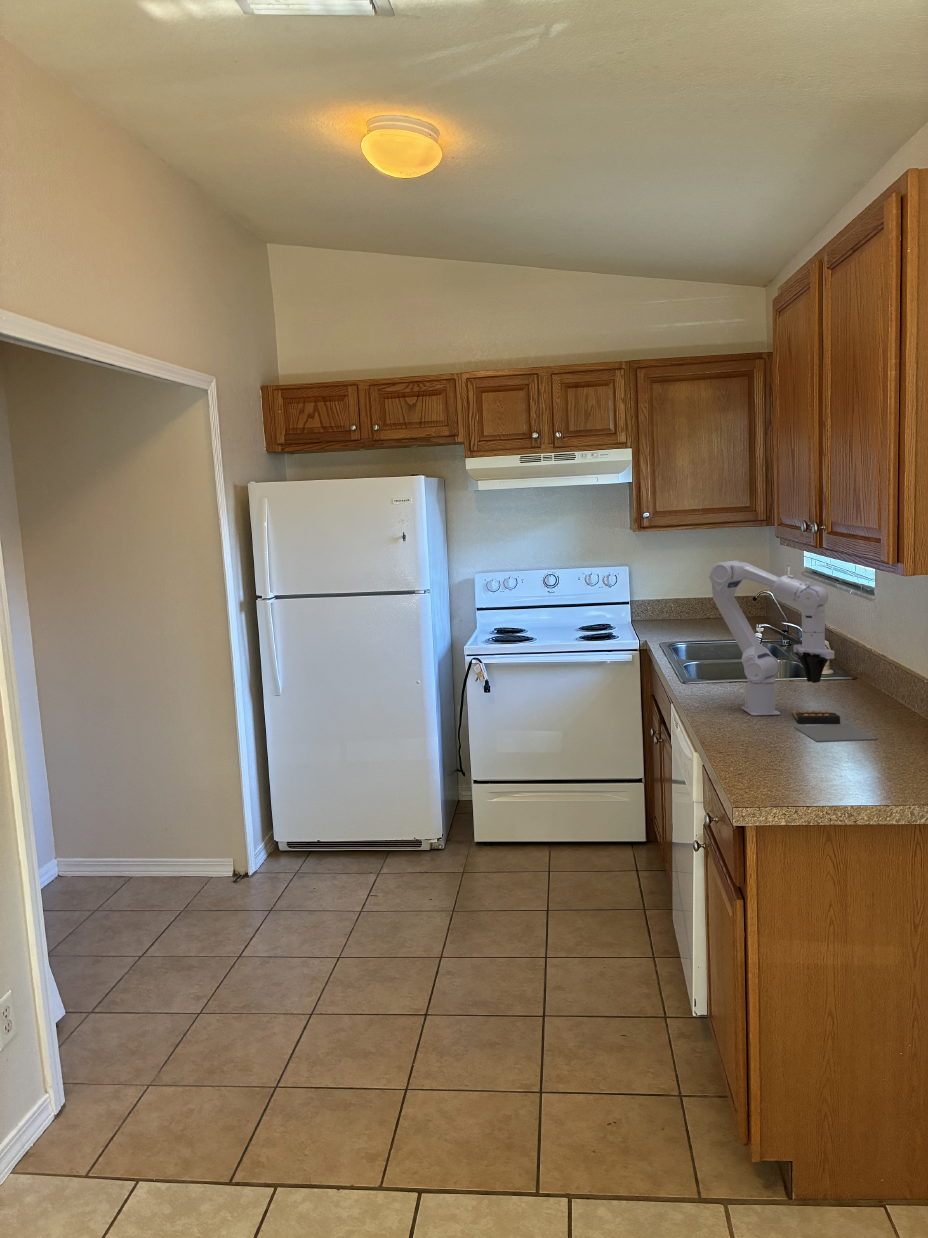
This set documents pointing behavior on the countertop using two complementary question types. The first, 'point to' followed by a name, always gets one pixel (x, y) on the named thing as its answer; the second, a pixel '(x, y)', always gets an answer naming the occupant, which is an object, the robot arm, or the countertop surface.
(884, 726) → the countertop surface
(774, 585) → the robot arm
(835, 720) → the ammunition clip
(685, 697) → the countertop surface
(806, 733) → the mat
